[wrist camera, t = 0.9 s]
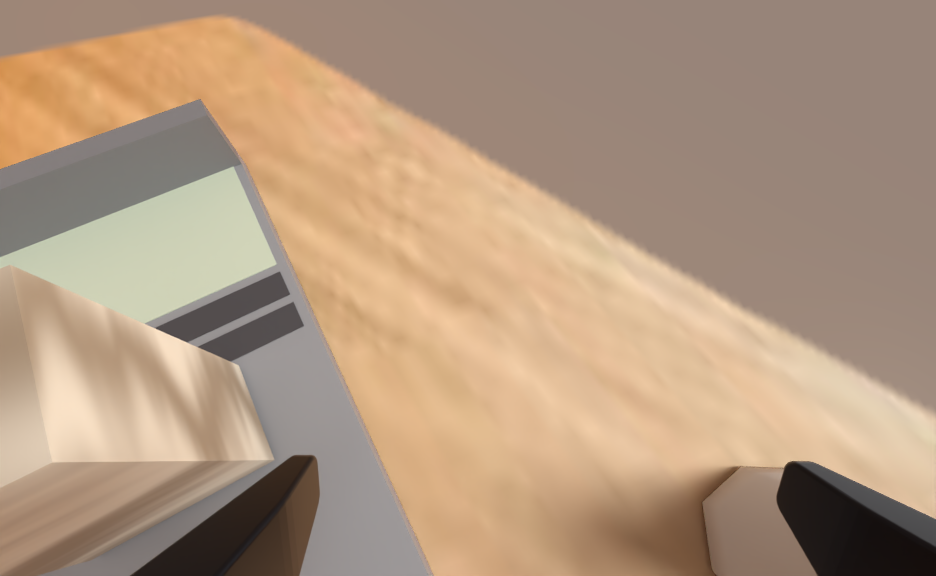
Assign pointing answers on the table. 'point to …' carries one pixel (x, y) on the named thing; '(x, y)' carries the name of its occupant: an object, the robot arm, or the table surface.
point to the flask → (751, 528)
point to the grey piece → (208, 316)
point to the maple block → (106, 426)
